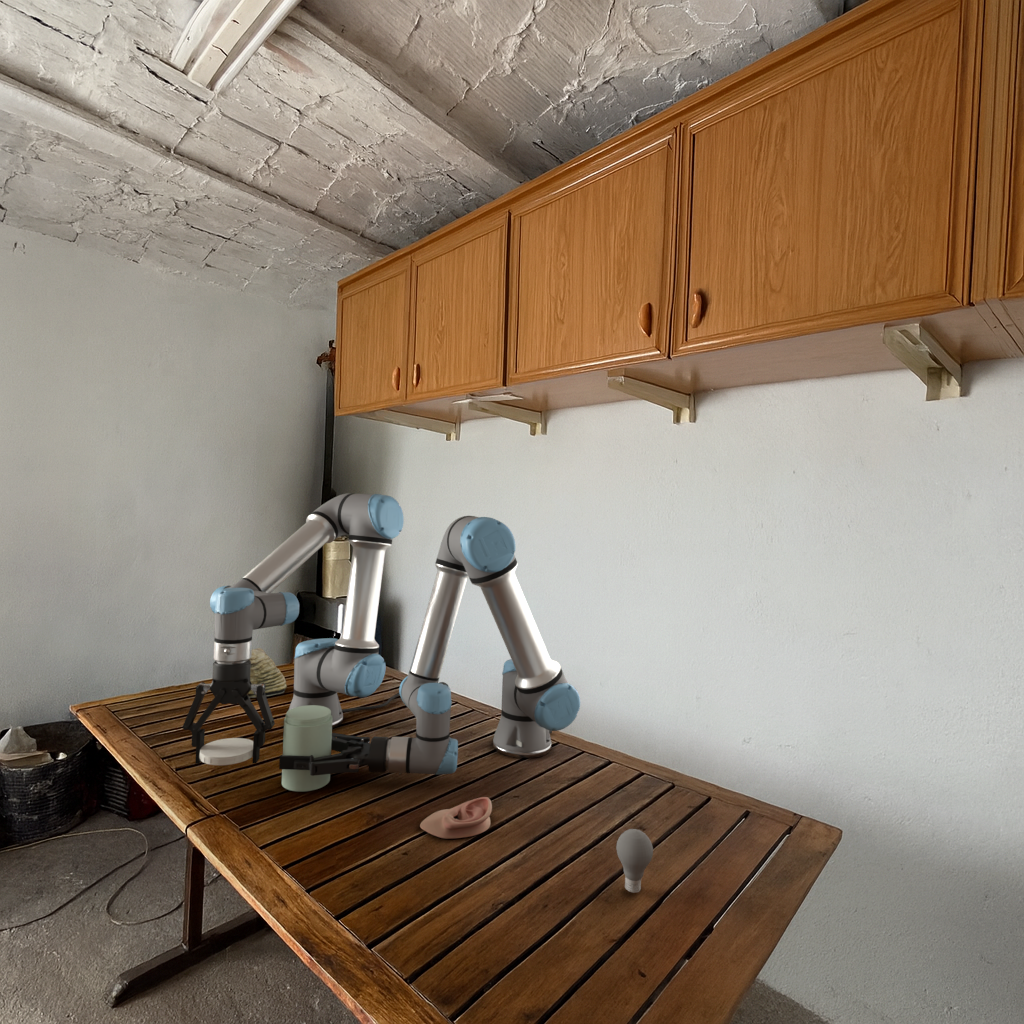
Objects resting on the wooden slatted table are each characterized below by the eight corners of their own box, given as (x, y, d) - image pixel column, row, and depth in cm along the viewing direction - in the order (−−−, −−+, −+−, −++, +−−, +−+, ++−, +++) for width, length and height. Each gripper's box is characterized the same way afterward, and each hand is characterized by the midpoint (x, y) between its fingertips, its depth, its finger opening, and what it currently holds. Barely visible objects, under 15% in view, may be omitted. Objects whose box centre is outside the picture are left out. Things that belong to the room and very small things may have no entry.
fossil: (218, 695, 195) (220, 647, 195) (278, 685, 208) (279, 640, 207) (228, 703, 189) (230, 653, 188) (289, 692, 201) (290, 645, 201)
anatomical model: (414, 813, 120) (434, 787, 131) (414, 834, 120) (433, 806, 131) (482, 823, 117) (496, 795, 129) (481, 844, 118) (495, 815, 129)
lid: (258, 743, 144) (258, 736, 144) (252, 763, 133) (253, 755, 133) (204, 746, 141) (205, 739, 141) (194, 767, 130) (195, 759, 130)
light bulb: (610, 879, 108) (613, 822, 108) (644, 879, 109) (647, 822, 109) (619, 902, 102) (622, 840, 102) (655, 901, 103) (658, 840, 103)
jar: (332, 788, 138) (335, 717, 138) (282, 794, 134) (285, 722, 134) (327, 768, 147) (330, 703, 147) (280, 774, 144) (283, 706, 143)
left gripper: (167, 663, 132) (163, 768, 132) (284, 665, 135) (279, 768, 135) (181, 655, 139) (177, 754, 139) (292, 656, 142) (287, 754, 142)
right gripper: (378, 795, 130) (269, 792, 129) (395, 751, 153) (302, 748, 152) (380, 759, 130) (271, 755, 129) (396, 720, 153) (303, 717, 152)
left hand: (227, 761), depth 137 cm, fingers closed on lid, 11 cm apart
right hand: (288, 751), depth 141 cm, fingers closed on jar, 10 cm apart
